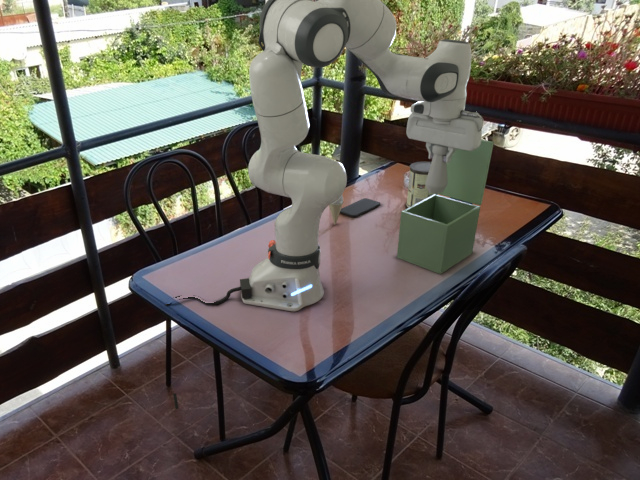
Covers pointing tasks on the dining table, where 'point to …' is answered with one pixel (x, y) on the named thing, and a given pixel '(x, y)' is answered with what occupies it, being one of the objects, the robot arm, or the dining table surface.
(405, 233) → the box
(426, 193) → the coffee can
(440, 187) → the salt shaker
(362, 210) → the phone
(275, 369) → the dining table surface
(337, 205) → the ice cream cone
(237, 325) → the dining table surface
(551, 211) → the dining table surface
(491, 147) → the lid
